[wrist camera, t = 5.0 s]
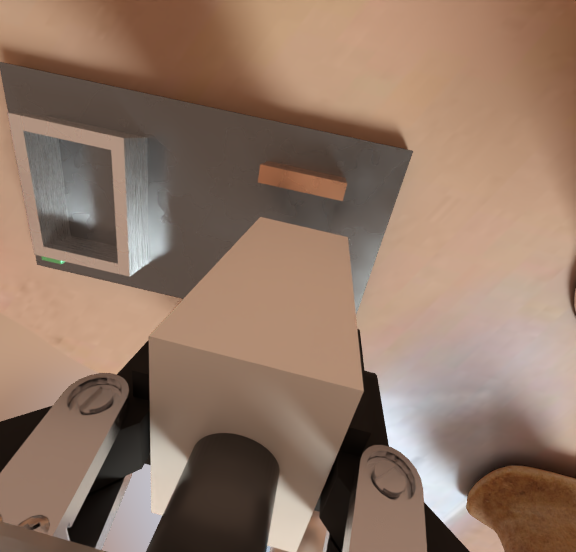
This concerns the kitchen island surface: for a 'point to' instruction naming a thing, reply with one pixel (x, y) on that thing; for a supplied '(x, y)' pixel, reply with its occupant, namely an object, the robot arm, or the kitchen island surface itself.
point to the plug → (253, 392)
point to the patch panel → (181, 181)
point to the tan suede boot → (527, 508)
